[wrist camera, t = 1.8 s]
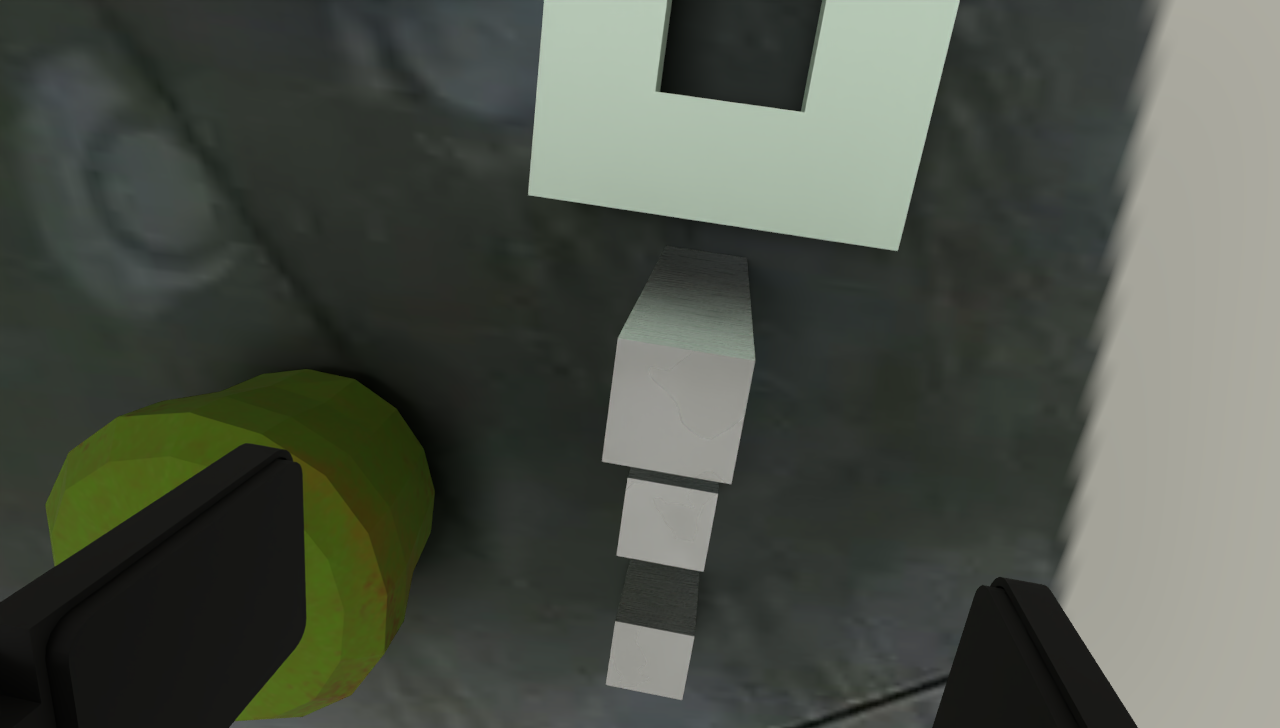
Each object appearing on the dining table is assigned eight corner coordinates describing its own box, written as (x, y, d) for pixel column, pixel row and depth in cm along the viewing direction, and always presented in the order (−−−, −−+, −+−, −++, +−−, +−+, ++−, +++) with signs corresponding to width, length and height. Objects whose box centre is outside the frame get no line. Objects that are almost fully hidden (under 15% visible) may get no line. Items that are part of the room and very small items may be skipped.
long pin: (732, 335, 31) (731, 484, 18) (654, 323, 31) (601, 461, 19) (746, 258, 30) (755, 360, 17) (665, 245, 30) (617, 338, 18)
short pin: (688, 629, 35) (682, 699, 31) (621, 616, 36) (605, 684, 31) (699, 571, 34) (694, 636, 30) (630, 558, 35) (615, 621, 30)
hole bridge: (871, 228, 29) (897, 251, 24) (561, 181, 29) (528, 194, 25) (956, -138, 25) (1008, -197, 20) (595, -179, 26) (564, -245, 21)
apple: (161, 416, 35) (-89, 549, 24) (356, 283, 32) (166, 369, 21) (327, 619, 38) (167, 819, 27) (524, 515, 34) (428, 696, 24)
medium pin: (709, 492, 33) (703, 571, 27) (637, 480, 33) (616, 555, 28) (721, 426, 32) (718, 493, 26) (646, 413, 32) (627, 477, 27)
